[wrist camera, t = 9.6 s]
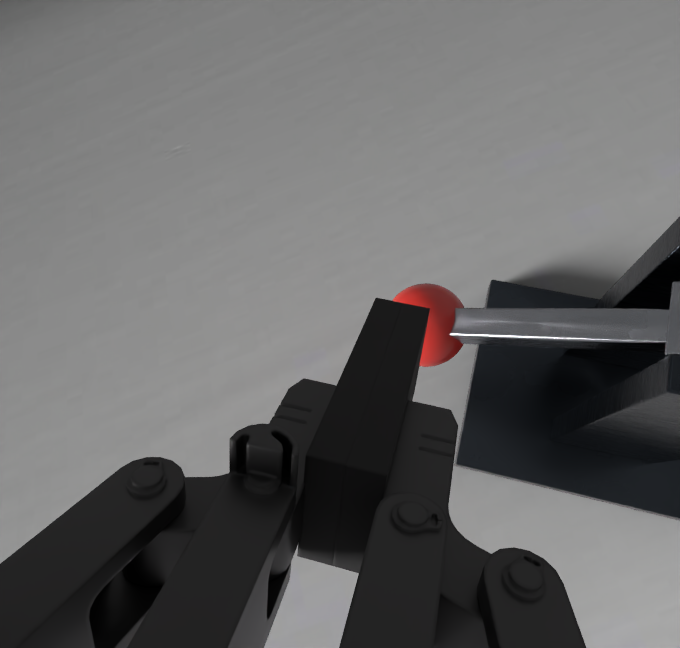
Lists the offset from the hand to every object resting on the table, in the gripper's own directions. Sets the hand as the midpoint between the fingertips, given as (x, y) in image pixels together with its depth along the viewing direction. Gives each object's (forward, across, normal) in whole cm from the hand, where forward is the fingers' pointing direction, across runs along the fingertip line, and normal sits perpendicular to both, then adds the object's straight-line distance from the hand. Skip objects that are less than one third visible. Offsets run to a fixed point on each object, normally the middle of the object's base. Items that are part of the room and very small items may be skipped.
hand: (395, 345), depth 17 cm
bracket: (+11, +9, -7) cm, 16 cm away
